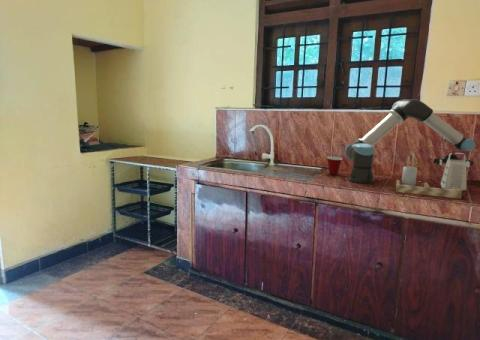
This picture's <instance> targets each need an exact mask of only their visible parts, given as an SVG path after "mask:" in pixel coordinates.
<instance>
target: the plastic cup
mask: <svg viewBox="0 0 480 340" xmlns="http://www.w3.org/2000/svg"><path fill="white" fill-rule="evenodd" d="M326 159H327V166H328V167H327V168H328V174H329V173H330V174H329V175H333V174H336V175H338V174H339V170H340V168H341V163H342V160H343V158H342V157H339V156H330V155H329V156H327V157H326Z"/></svg>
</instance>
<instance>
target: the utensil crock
mask: <svg viewBox="0 0 480 340" xmlns="http://www.w3.org/2000/svg"><path fill="white" fill-rule="evenodd" d="M415 157H416V154H415V153H414V154H413V155H412V160H410V158H411V157H410V155H408V156H407V162H406V166H403V167H402V175H401V184H400V185H410V186H416V183H417V176H418V175H417V174H418V167H416V166H415ZM410 161H412V162H411V166H410Z"/></svg>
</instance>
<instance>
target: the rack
mask: <svg viewBox="0 0 480 340" xmlns="http://www.w3.org/2000/svg"><path fill="white" fill-rule="evenodd" d="M423 185H424V186H418V185H415V186H410V185H401V184H400V179H396V183H395V192H396V193H404V194H405V193H406V194H415V195H422V196H423V195H424V196H433V197H441V198H442V197H443V198H450V199H451V198H452V199H460V200H461V199H462V195H463V194H462V193H463V191H461V189H460V188H459V187H460V186H459V187H458V186H457V185H454V188H453V190H451V189H444V188H442V187H441V188H439V187H430V185H429V183H428V182H426V181H424V184H423Z"/></svg>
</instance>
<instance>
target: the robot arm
mask: <svg viewBox="0 0 480 340" xmlns="http://www.w3.org/2000/svg"><path fill="white" fill-rule="evenodd" d="M409 118H410V119H411V118H412V119H415V120H417V121H419V123H424V124H425V125H427V126H428V127H429V128H430V129H432V130H433V131H434V132H436V133H437V134H438V135H440V136H441V137H443V139H444V138H445V139H446V140H448V141H449V142H450V143H452V144H453V145H454V146H455V147H456V148H457V149H459V150H458V151H463V152H470V151H472V150H473V149H475V146H476V142H475V141H474V140H473V139H471V138H467V137H466V136H464V135H463V134H462V133H461V132H459V131H458V130H456V129H455V128H454V127H452V126H451V125H450V124H449V123H448V122H446V121H445V120H443V119H442V118H441V117H439V116H438V115H437V114H436V113H435V112H434V110H433V109H432V108H431V107H430V106H428V105H427V104H426V103H424V102H423V101H422V100H420V99H417V98H411V99H410V98H409V99H408V98H407V99H406V98H405V99H400V100H398V101H396V102H394V103H393V105H392V107H391V109H390V110H389V113H388V115H386V116H385V117H384V118H383V119H382V120H381V121H379V122H378V123H377V124H376V125H375V126H374V127H373V128H371V130H370V131H368V132H367V133H365V135H364V136H363V137H362V138H357V139H356V140H355V141H354V142H352V143H349V144H348V145H346V147H345V148H344V149H345V150H344V155H345V157H346V159H348V160H349V161H352V169H351V172H350V174H349V177H348V179H349V181H350V182H353V183H360V184H372V183H374V182H375V175H374V172H373V166H374V165H373V164H374V155H375V150H374V149H375V147H374V146H375V145H376V144H377V143H378V142H379V141H380V140H381V139H383V138H384V137H385V136H386V135H387V134H388V133H389V132H391V131H392V129H394V128H395V127H396V126H397V125H398V124H404V122H405V121H407V120H408V119H409ZM457 149H456V150H457ZM448 158H449V154H447V155H446V156H445V157H444V159H442V158H441V157H438V158H437V157H436V158H433V164H436V165H439V166H442V165H443V164H445V165H446V163H447V159H448ZM450 159H451V160H464V158H462V159H461V158H458V156H457V155H456V154H455V155H454V154H451V155H450ZM465 162H466V168H470V166H472V167H473V166H474V161H473V160H471V159H465Z"/></svg>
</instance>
